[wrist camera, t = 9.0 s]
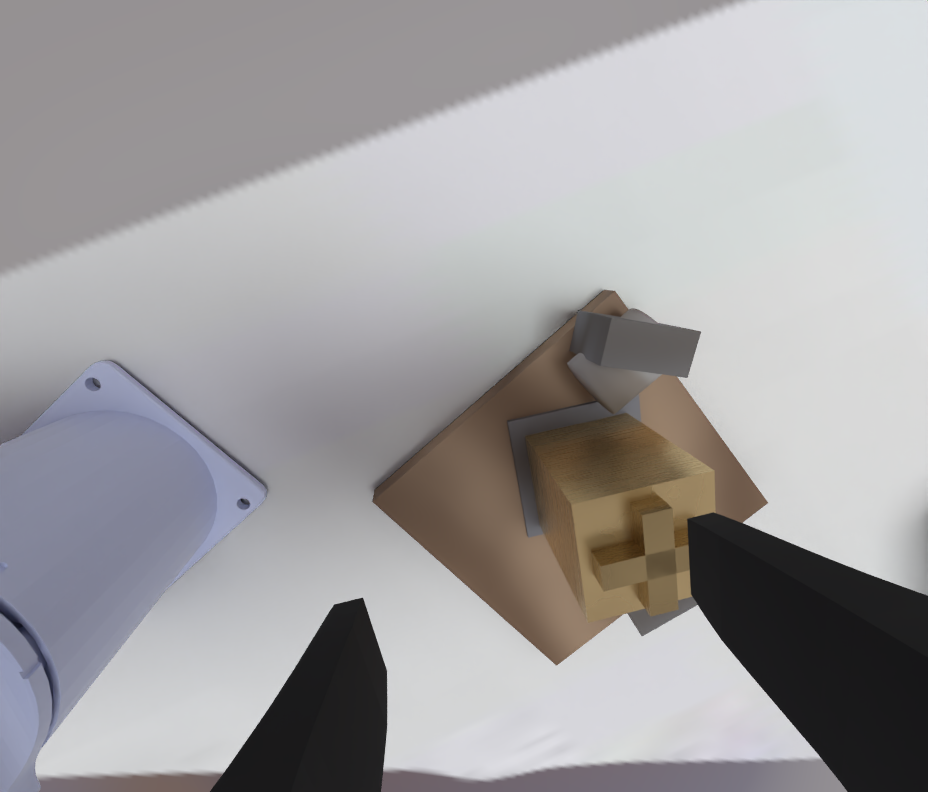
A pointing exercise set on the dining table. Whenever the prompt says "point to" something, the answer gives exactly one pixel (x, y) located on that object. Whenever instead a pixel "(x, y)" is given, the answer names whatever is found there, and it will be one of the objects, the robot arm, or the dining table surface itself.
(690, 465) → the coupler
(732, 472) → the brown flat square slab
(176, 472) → the robot arm
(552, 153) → the dining table surface
